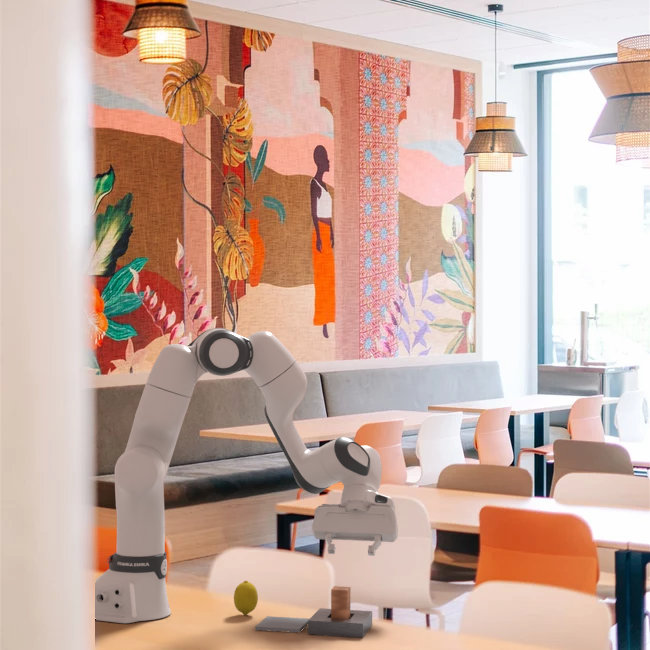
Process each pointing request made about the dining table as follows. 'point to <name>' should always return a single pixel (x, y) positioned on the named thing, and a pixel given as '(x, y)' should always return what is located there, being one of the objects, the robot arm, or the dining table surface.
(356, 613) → the collar block
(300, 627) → the mat
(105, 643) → the dining table surface
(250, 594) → the lemon
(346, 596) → the peg
